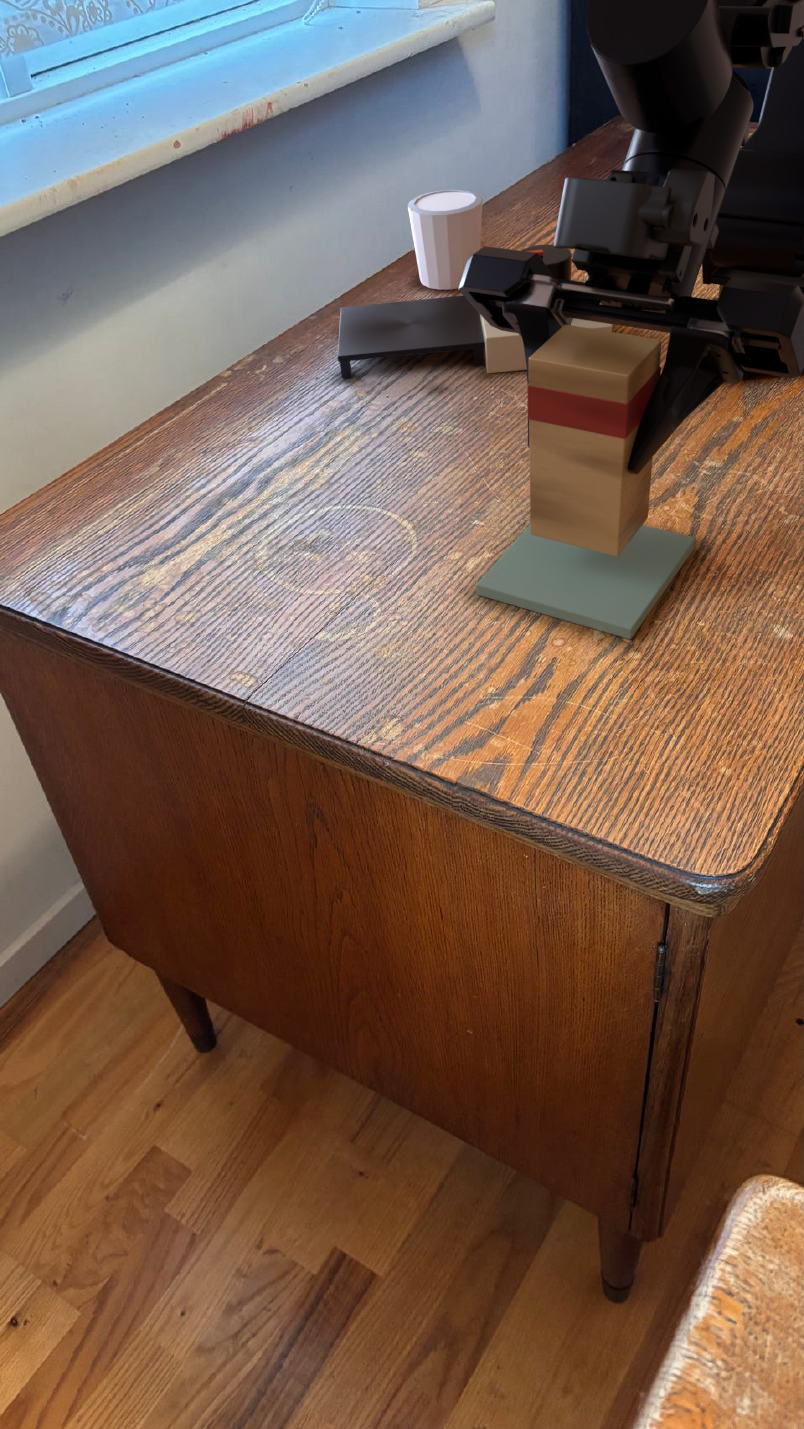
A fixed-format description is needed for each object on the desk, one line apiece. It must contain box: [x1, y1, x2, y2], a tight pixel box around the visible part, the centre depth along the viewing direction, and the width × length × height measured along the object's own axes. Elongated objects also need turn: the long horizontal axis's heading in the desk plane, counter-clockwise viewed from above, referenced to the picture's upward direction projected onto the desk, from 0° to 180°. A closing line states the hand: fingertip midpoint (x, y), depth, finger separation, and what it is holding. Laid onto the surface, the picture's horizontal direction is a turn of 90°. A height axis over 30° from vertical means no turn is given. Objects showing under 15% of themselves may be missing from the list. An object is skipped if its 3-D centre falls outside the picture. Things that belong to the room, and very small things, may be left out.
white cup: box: [407, 189, 484, 291], centre depth 98 cm, size 7×7×7 cm
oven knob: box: [520, 244, 573, 281], centre depth 84 cm, size 4×4×5 cm
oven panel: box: [480, 314, 614, 374], centre depth 87 cm, size 10×9×3 cm
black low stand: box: [337, 294, 485, 379], centre depth 89 cm, size 12×10×2 cm
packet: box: [526, 325, 663, 557], centre depth 59 cm, size 4×6×11 cm
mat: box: [475, 524, 697, 640], centre depth 64 cm, size 10×10×1 cm
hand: (581, 461), depth 58 cm, fingers closed on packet, 5 cm apart
